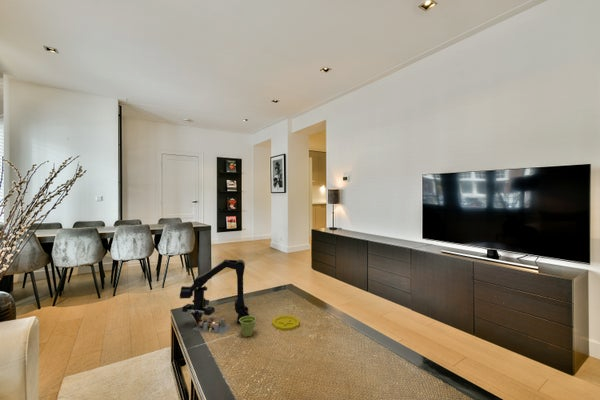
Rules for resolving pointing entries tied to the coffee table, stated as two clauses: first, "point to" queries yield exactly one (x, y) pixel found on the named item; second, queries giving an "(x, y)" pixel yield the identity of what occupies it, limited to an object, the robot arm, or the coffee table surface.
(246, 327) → the plant pot
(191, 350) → the coffee table surface
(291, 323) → the decorative disc
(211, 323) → the copper tube
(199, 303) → the robot arm
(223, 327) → the board
